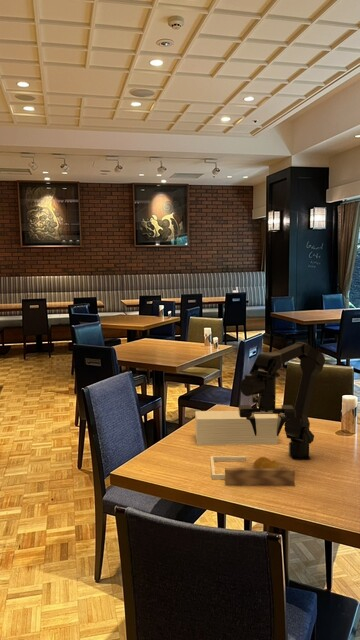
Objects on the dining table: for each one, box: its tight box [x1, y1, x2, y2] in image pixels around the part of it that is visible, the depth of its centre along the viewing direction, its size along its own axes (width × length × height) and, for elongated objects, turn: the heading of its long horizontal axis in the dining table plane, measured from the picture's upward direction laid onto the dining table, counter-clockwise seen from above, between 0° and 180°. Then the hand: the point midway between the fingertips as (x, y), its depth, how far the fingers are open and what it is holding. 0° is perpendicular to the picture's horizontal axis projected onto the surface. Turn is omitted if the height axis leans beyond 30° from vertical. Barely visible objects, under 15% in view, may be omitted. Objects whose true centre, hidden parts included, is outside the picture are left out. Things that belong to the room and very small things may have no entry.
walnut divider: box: [224, 467, 296, 487], centre depth 154 cm, size 22×2×5 cm, turn 89°
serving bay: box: [209, 455, 248, 480], centre depth 166 cm, size 13×16×2 cm
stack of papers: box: [194, 410, 279, 446], centre depth 194 cm, size 32×11×11 cm, turn 91°
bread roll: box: [252, 456, 281, 468], centre depth 165 cm, size 8×9×4 cm
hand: (266, 435), depth 164 cm, fingers open, 7 cm apart
